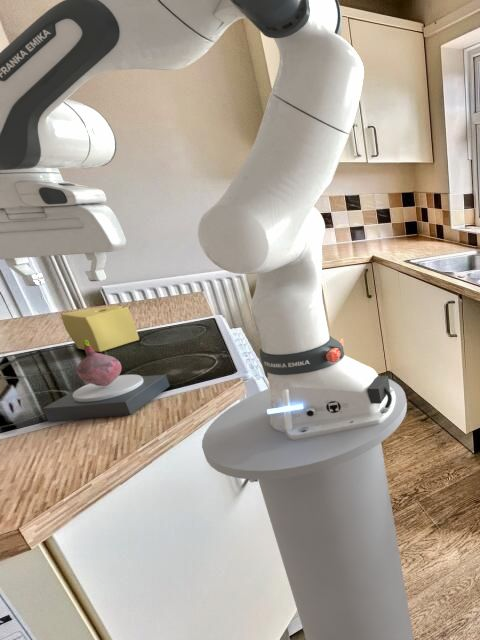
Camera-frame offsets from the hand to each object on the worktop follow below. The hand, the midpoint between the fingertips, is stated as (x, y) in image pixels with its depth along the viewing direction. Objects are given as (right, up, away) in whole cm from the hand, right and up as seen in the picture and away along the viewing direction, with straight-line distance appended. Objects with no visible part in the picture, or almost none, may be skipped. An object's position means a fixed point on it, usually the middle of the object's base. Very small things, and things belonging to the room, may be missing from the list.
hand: (67, 282), depth 70 cm
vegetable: (-6, -19, +13) cm, 24 cm away
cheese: (-38, -11, +47) cm, 61 cm away
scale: (-6, -22, +15) cm, 27 cm away
